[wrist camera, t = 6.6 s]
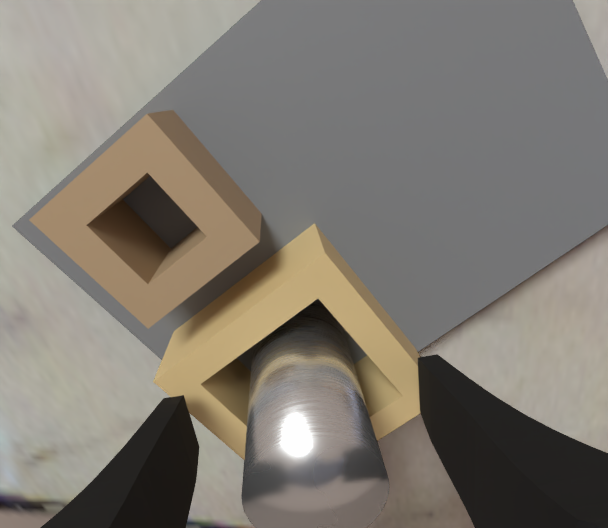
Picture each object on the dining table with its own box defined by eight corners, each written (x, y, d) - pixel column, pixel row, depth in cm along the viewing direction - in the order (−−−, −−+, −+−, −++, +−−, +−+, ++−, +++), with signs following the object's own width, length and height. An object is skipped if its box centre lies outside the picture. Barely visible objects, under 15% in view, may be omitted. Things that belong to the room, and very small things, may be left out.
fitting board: (638, 187, 16) (742, 213, 13) (266, 439, 19) (265, 517, 16) (470, -183, 12) (556, -302, 8) (24, 219, 15) (-53, 258, 11)
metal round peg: (359, 344, 17) (415, 503, 10) (287, 388, 17) (297, 565, 11) (310, 279, 16) (339, 411, 9) (235, 328, 16) (210, 486, 10)
